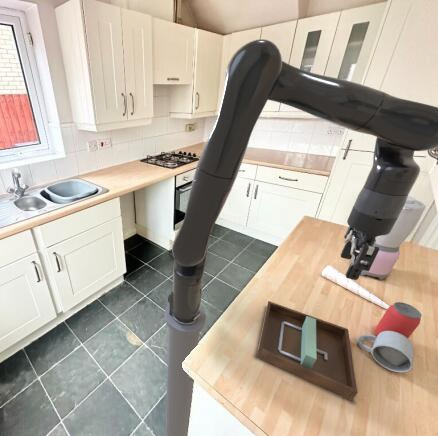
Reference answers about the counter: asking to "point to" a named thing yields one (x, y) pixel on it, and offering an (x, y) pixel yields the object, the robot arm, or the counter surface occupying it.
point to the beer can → (399, 319)
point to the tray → (325, 341)
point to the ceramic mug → (390, 350)
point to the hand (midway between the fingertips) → (347, 267)
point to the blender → (395, 239)
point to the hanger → (304, 343)
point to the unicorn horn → (351, 285)
